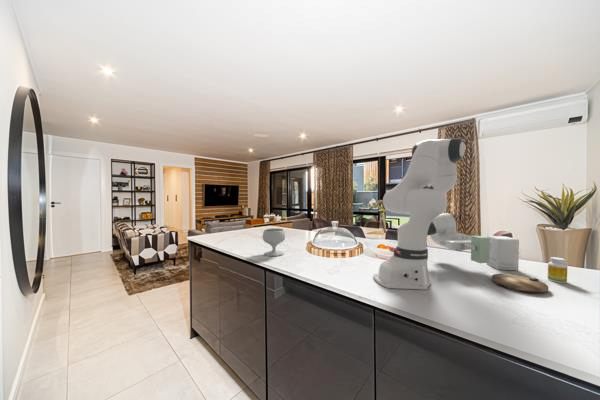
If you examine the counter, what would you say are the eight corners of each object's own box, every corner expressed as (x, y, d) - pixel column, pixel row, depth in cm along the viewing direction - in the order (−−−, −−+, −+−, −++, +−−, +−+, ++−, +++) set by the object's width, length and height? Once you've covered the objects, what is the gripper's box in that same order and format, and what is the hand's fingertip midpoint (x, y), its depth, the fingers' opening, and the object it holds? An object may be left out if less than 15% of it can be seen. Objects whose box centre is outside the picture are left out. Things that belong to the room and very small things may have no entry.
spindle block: (479, 263, 97) (480, 237, 97) (470, 260, 101) (471, 235, 101) (489, 262, 97) (489, 237, 97) (480, 259, 102) (480, 235, 101)
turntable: (521, 293, 80) (521, 288, 80) (481, 276, 96) (481, 272, 96) (561, 291, 82) (561, 286, 82) (516, 275, 98) (516, 271, 98)
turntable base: (520, 293, 82) (520, 291, 82) (488, 280, 95) (488, 278, 95) (552, 292, 83) (552, 290, 83) (516, 278, 96) (516, 277, 96)
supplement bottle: (546, 277, 97) (547, 255, 97) (565, 280, 94) (565, 258, 94) (548, 281, 93) (549, 258, 93) (568, 284, 90) (569, 261, 90)
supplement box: (519, 271, 106) (520, 239, 105) (497, 269, 108) (498, 238, 107) (505, 265, 115) (506, 236, 114) (485, 264, 116) (486, 235, 116)
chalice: (258, 253, 139) (257, 229, 138) (276, 250, 148) (276, 227, 148) (271, 258, 129) (271, 232, 128) (290, 254, 138) (289, 229, 138)
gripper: (437, 235, 111) (459, 241, 97) (476, 235, 113) (503, 240, 99) (437, 248, 111) (459, 255, 97) (476, 247, 113) (503, 255, 99)
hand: (482, 248), depth 98 cm, fingers closed on spindle block, 4 cm apart
